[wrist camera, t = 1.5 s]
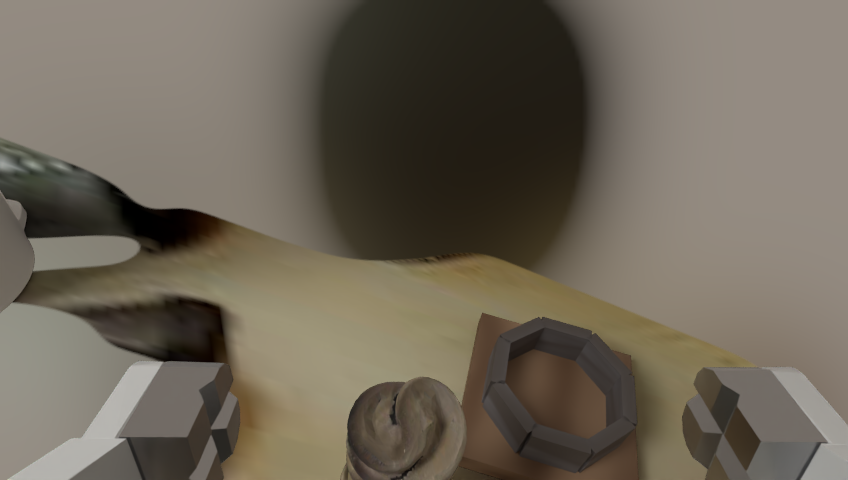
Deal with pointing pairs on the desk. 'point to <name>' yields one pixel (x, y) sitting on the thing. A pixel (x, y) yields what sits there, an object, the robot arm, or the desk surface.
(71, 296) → the desk surface
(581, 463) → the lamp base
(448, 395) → the light bulb
